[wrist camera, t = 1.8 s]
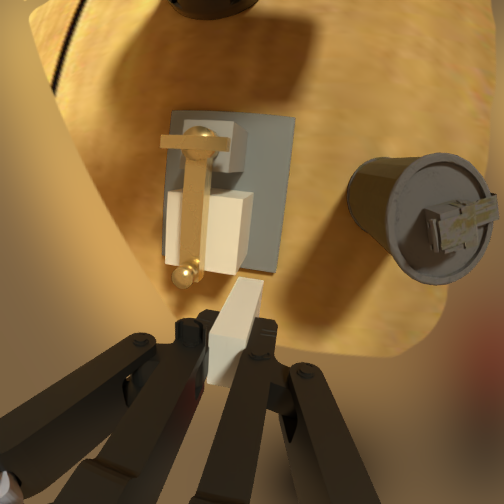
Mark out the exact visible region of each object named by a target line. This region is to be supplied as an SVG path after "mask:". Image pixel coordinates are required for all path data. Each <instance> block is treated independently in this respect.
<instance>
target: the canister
mask: <svg viewBox="0 0 504 504" xmlns="http://www.w3.org/2000/svg"><path fill="white" fill-rule="evenodd" d="M347 203H348V208H349V211H350V214H351V216H352V218H353V219H354V221H355V222H356V224H357V225H358V226H359V227H360V228H361V229H363V230H364V231H365V232H367V233H369V234H370V235H371V236H372V237H373V238H374V239H375V240H376V241H377V242H378V243H379V244H380V245H382V246H383V247H384V248H385V249H386V250H387V251H388V252H389V253H390V254H391V255H392V256H393V258H394V260H395V261H396V263H397V264H398V266H399V267H400V268H401V269H402V271H403V272H405V273H406V274H407V275H408V276H410V277H411V278H412V279H414V280H416V281H418V282H420V283H423V284H429V285H446V284H449V283H452V282H454V281H457V280H459V279H461V278H462V277H464V276H465V275H466V274H468V273H469V272H470V271H471V270H472V269H473V268H474V267H475V266H476V265H477V263H478V262H479V261H480V260H481V258H482V257H483V255H484V253H485V251H486V248H487V246H488V244H489V242H490V238H491V234H492V229H493V221H495V220H498V219H499V212H498V202H497V194H494V193H490V191H489V189H488V186H487V184H486V182H485V180H484V178H483V176H482V175H481V174H480V173H479V172H478V171H477V169H476V168H475V167H474V166H473V165H472V164H471V163H470V162H468V161H467V160H465V159H463V158H461V157H459V156H457V155H454V154H449V153H434V154H429V155H425V156H423V157H408V158H388V157H379V158H374V159H371V160H369V161H367V162H365V163H364V164H362V165H361V166H359V168H358V169H357V170H356V172H355V173H354V174H353V176H352V177H351V180H350V182H349V185H348V191H347Z"/></svg>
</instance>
